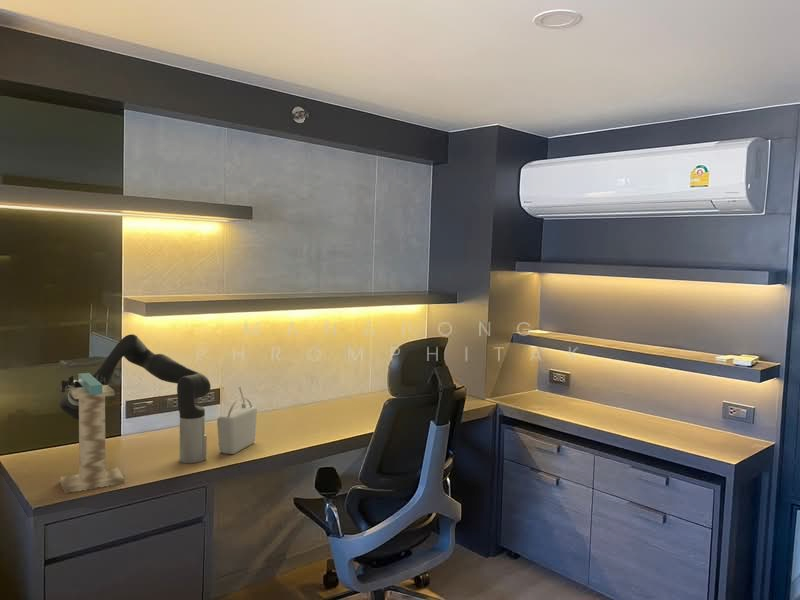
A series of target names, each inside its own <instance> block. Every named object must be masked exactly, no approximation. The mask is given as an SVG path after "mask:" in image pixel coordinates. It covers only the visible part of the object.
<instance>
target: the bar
mask: <svg viewBox="0 0 800 600" xmlns="http://www.w3.org/2000/svg"><path fill="white" fill-rule="evenodd" d="M77 375H78V376H77V380H78V382H79V383H80V384H81V385H82V386H83V387H84V388H85V390H86V391H87V392H88V393H89V394H90V395H96V394H102V384H101V383H100V382H99V381H97V380H96V379H95V378H94V377H93V375H92V374H91V373H90V372H85V373H84V372H83V373H78V374H77Z"/></svg>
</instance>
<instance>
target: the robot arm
mask: <svg viewBox="0 0 800 600" xmlns="http://www.w3.org/2000/svg"><path fill="white" fill-rule="evenodd" d="M122 358H124V359H126V360H127V361H128V362H130V363H131V364H133V365H136V366H138V367H141V368H143V369H144V370H145V371H147V372H148V373H149V374H151V375H152V376H154V377H155V378H157V379H159V380H160V381H164V382H167V383H172V384H177V387H176V394H177V395H176V396H177V409H178V412H179V462H180V463H183V464H196V463H200V462H203V461H207V434H205V433H206V428H205V426H206V418H205V417H206V415H205V414H206V412H205V411H206V410H205V408H204V407H202V406H199V405H196V403H195V399H200V398H203V397H205V396H207V395H208V394H209V393H210V391H211V382H210V380H209V379H208V377H207V376H206V375H204V374H203V373H201V372H198V371H195V370H192V369H190V368H188V367H186V366H184V365H183V364H181V363H179V362H177V361H176V360H174V359H172V357H170V356H167V355H166V354H163V353H154V352H152V351H151V350H150V349H149V348H148V347H147V345H145V344H144V342H143V341H142V340H141V339H140V338H139V337H138V335H136V334H134V333H133V334H128V335H125V336H123V338H121V339H120V340H119V341H118V343H117V344H116V345H115V346H114V347H113V349H112V350H111V352H110V353H109V355H108V356H107V357H106V359H105V360H104V361H103V363H102V364H101V366H100V367H99V368H98V369H97V370H96V371H95V373H94V374H93V375H92V376H93V377H94V378H95V379H96V380H97V381H99V382H100V383H101V384H102V385H108V386H109V385H110V383H111V380H112V378H113V375H114V373H115V369H116V367H117V366H118V363H119V362H120V361H121V359H122ZM79 387H83V386H82V385H81V384H80V383H79V382H78V379H77V380H76V379H74V376H73V375H70V377H68V379H67V380H61V382H60V389H61V390H60V392H61V393H65V392H66V391H68V393H67V396H65V397H64V398H63V399H61V401H60V403H59V407H60V410H61V411H62V412H64V413H66V415H68V416H70V417H71V419H74V420H76V421H79V399H74V398H73V396H72V395H71V394H70V393H69V388H79Z"/></svg>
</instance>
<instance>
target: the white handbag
mask: <svg viewBox="0 0 800 600" xmlns="http://www.w3.org/2000/svg"><path fill="white" fill-rule="evenodd" d="M238 389H239V393H240V395H241V397H239V398H238V399H236V400H235V401H234V402H233V403H232V405H231V407H230V408H229V411H228V412H226V413H224V414H221V415H219V416H218V418H217V419H216V420H217V421H216V423H217V435H218V437H217V438H218V448H219V449H218V450H219V452H220V453H221V454H228V455H234V454H236V453H238V452H241V451H242V450H243V449H245V448H247V447H249V446H250V445H253V444H254V443H255V441H256V434H257V431H256V430H257V420H258V419H257V418H258V417H257V415H258V409H257V407H256V406H253V404H252V403H251V401H250V400H249V399H248V398H245V397H244V395H243V392H242V387H241V386H238ZM240 400H242V402H243V403H242V404H241V406H240V407H237V408H236V409H234V410H233V408H234V407H235V405H236V404H237V403H238V402H239V401H240ZM245 400H246V401H247V403H248V404H249V405H247V403H246V402H245Z"/></svg>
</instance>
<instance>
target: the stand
mask: <svg viewBox="0 0 800 600" xmlns="http://www.w3.org/2000/svg"><path fill="white" fill-rule="evenodd" d="M68 392H69V393H70V394H71V395H72V396H73V398H74V399H79V420H78V441H79V442H78V450H79V451H78V456H79V457H78V461H79V462H78V463H79V464H78V465H79V466H78V468H79V469H78V470H79V471H78V474H77V473H76V474H72V475H64V476H60V477H59V478H60V479H59V480H60V481H59V483H60V486H61V487H63V488H62V489H64V490H63V492H64V494H65V493H67V494H70V493H69V492H72V493H77V492H76V491H78V492H82V490H84V491H87V489H89V490H93V488H95V489H98V488H97V487H100V488H105V487H104V486H106V487H110V486H109V485H111V486H116V484H117V485H121V483H122V484H125V477H124V475H123V474H122V472H121V471H120V470H119V468H118V467H113V468H106V397H112V396H115V393H116V392H115V389H113V388H112V387H110V385H109V384H108V385H102V394H96V395H90V394H89V393H88V392H87V391H86V390H85V388H84V387H79V388H69V390H68Z"/></svg>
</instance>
